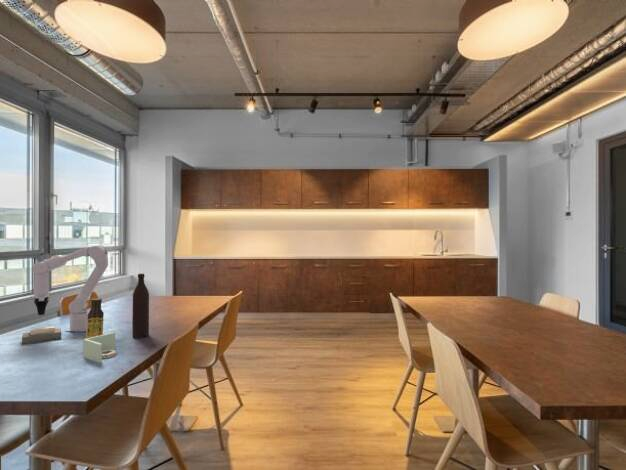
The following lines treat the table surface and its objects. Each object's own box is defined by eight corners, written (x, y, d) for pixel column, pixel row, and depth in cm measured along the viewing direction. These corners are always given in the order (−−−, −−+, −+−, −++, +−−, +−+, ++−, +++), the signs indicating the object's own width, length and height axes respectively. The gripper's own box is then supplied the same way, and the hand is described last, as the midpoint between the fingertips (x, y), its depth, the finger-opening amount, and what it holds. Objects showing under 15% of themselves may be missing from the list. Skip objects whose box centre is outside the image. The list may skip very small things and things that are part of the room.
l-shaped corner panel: (99, 364, 129) (99, 344, 129) (83, 358, 135) (83, 339, 135) (130, 355, 139) (130, 336, 139) (113, 349, 146) (114, 332, 146)
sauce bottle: (85, 346, 148) (85, 300, 148) (86, 342, 153) (87, 298, 153) (102, 344, 151) (103, 299, 151) (103, 340, 156) (104, 297, 156)
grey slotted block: (60, 334, 165) (60, 328, 165) (61, 338, 159) (61, 332, 159) (22, 339, 156) (22, 333, 156) (21, 344, 150) (21, 337, 150)
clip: (54, 335, 162) (54, 326, 162) (54, 337, 159) (54, 327, 160) (30, 339, 156) (30, 329, 156) (29, 340, 154) (30, 330, 154)
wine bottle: (151, 336, 163) (151, 273, 164) (135, 339, 158) (136, 274, 158) (145, 333, 168) (145, 272, 168) (130, 336, 163) (130, 273, 163)
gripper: (31, 285, 172) (31, 311, 172) (30, 288, 161) (30, 317, 160) (49, 283, 176) (48, 310, 176) (49, 287, 165) (49, 315, 165)
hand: (41, 313), depth 169 cm, fingers open, 7 cm apart
